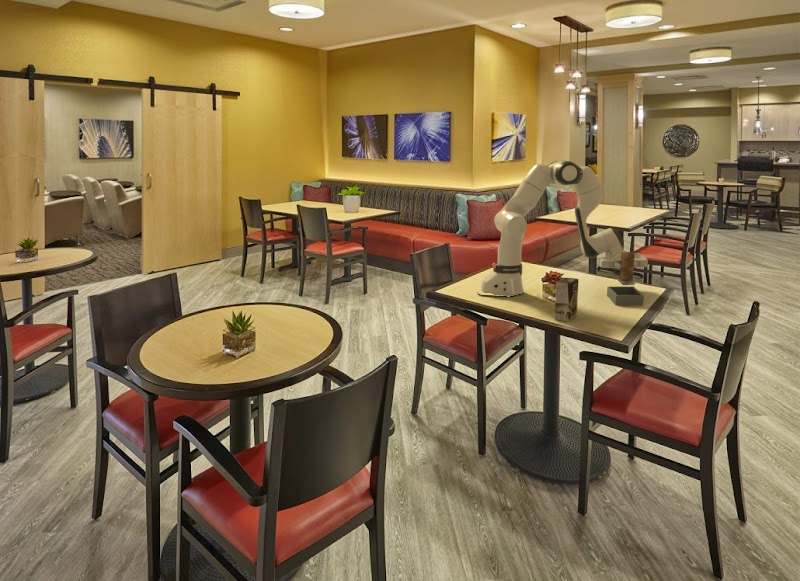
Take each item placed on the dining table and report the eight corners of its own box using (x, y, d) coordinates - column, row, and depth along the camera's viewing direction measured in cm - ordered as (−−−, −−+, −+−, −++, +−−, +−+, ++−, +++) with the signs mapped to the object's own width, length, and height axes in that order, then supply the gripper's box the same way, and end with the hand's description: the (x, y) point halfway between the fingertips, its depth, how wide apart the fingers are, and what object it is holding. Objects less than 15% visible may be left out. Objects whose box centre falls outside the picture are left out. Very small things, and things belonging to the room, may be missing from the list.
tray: (615, 305, 245) (616, 295, 244) (606, 295, 260) (607, 286, 259) (643, 305, 243) (644, 295, 242) (632, 295, 258) (633, 286, 257)
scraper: (622, 285, 245) (624, 255, 242) (617, 280, 254) (619, 251, 251) (634, 285, 245) (636, 255, 241) (628, 279, 253) (630, 251, 250)
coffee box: (569, 322, 225) (571, 283, 220) (553, 319, 228) (555, 281, 224) (577, 316, 232) (579, 278, 227) (562, 313, 235) (563, 276, 231)
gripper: (596, 253, 260) (603, 259, 247) (642, 252, 258) (652, 259, 245) (595, 266, 262) (602, 273, 249) (641, 266, 259) (651, 273, 246)
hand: (627, 266), depth 247 cm, fingers closed on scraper, 4 cm apart
